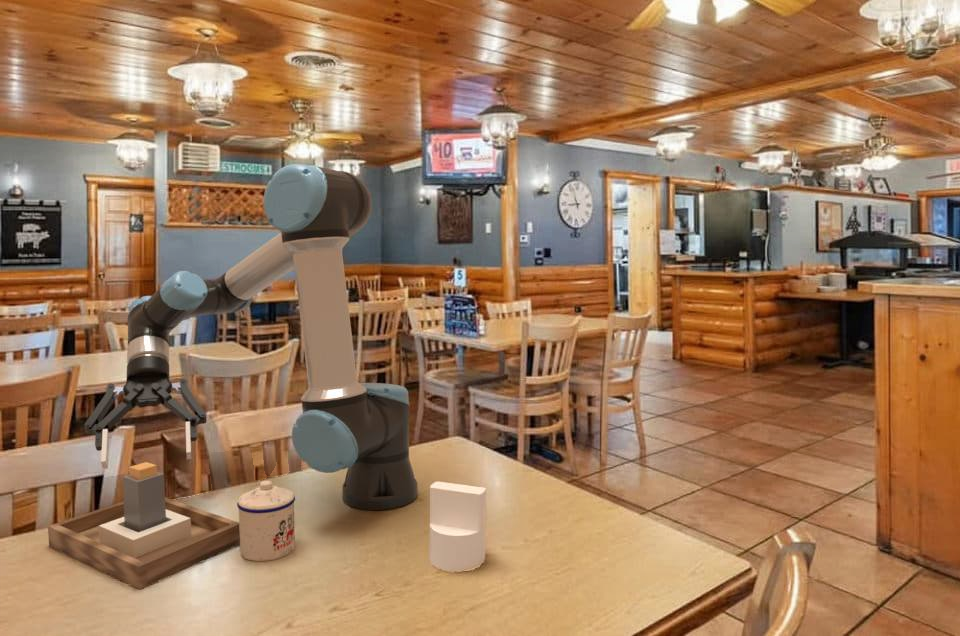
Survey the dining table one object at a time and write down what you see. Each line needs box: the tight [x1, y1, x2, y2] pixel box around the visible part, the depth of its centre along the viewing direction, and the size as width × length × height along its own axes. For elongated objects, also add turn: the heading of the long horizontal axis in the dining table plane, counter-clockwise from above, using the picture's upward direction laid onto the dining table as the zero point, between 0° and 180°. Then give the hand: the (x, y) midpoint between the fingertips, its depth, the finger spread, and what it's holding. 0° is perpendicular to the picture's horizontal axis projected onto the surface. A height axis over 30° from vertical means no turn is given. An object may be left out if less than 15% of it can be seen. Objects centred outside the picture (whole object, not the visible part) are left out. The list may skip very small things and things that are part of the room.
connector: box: [122, 461, 166, 532], centre depth 109 cm, size 4×4×13 cm
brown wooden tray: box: [47, 496, 240, 591], centre depth 109 cm, size 26×18×4 cm
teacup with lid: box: [236, 480, 296, 562], centre depth 109 cm, size 12×9×12 cm
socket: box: [99, 510, 191, 558], centre depth 109 cm, size 10×10×3 cm
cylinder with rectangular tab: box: [429, 480, 487, 573], centre depth 105 cm, size 9×9×12 cm
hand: (147, 460), depth 117 cm, fingers open, 13 cm apart
